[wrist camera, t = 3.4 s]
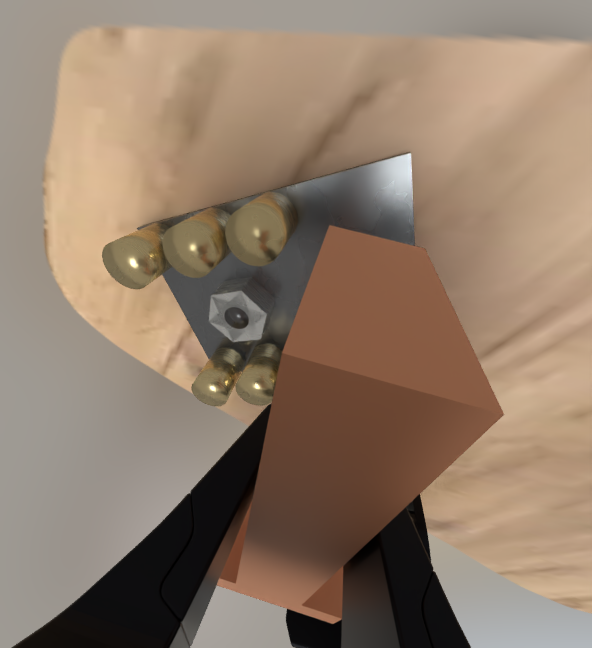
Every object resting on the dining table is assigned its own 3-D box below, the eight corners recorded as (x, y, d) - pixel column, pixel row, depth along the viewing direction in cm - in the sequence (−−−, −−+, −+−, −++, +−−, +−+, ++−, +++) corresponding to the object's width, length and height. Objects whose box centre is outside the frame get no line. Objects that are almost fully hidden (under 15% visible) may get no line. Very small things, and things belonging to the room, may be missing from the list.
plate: (418, 356, 22) (429, 402, 18) (219, 368, 27) (196, 406, 24) (409, 152, 15) (424, 159, 11) (142, 225, 20) (92, 247, 16)
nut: (282, 320, 22) (275, 338, 20) (230, 326, 23) (219, 343, 21) (266, 274, 20) (256, 288, 18) (210, 283, 21) (196, 298, 19)
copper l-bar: (485, 263, 7) (651, 455, 3) (342, 487, 15) (333, 623, 11) (272, 210, 8) (155, 318, 3) (242, 457, 16) (197, 579, 12)
